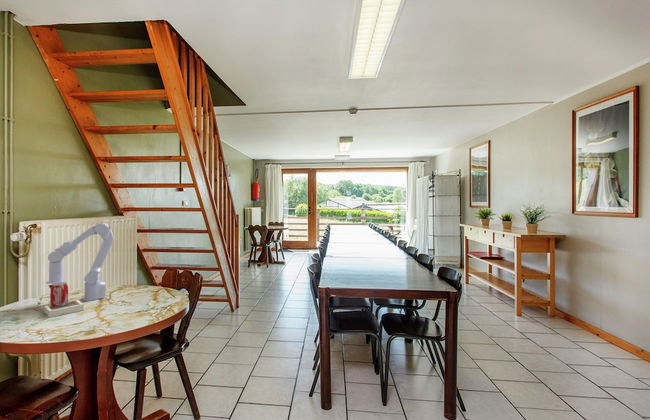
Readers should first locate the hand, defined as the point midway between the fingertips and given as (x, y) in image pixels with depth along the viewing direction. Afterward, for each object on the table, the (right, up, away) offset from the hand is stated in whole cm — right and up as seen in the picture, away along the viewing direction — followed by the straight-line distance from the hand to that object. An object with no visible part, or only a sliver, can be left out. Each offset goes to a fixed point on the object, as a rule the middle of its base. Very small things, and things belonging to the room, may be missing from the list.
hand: (55, 297), depth 162 cm
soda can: (+7, -3, -5) cm, 9 cm away
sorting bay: (+15, -3, -12) cm, 20 cm away
